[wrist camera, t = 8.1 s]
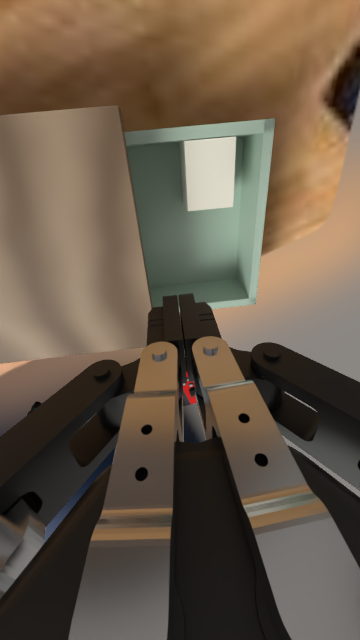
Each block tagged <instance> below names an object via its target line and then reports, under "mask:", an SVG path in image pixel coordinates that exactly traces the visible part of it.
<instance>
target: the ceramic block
mask: <svg viewBox="0 0 360 640" xmlns="http://www.w3.org/2000/svg"><path fill="white" fill-rule="evenodd" d="M179 151H180V168H181V184H182V200H183V204H184V205H185V207H186V209H187V211H196V210H206V209H217V208H227V207H233V199H234V176H235V152H236V136H235V137H223V138H212V139H200V140H189V141H183V142H181V143H179Z"/></svg>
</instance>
